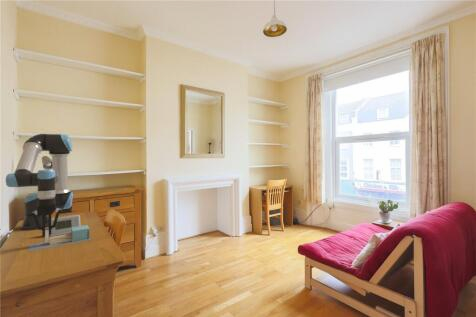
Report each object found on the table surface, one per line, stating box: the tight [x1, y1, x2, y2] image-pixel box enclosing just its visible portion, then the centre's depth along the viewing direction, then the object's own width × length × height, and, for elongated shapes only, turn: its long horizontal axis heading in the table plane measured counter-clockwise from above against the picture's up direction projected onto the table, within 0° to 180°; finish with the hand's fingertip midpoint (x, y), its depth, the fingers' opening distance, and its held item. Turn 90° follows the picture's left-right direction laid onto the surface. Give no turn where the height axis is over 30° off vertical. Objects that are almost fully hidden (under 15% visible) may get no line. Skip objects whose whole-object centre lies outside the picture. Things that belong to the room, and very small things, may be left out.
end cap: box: [70, 224, 90, 242], centre depth 137 cm, size 9×8×6 cm
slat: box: [49, 233, 72, 245], centre depth 133 cm, size 4×14×3 cm, turn 129°
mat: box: [27, 236, 92, 252], centre depth 131 cm, size 12×27×1 cm, turn 129°
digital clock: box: [49, 214, 82, 238], centre depth 147 cm, size 16×9×11 cm, turn 122°
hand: (46, 241), depth 127 cm, fingers closed
